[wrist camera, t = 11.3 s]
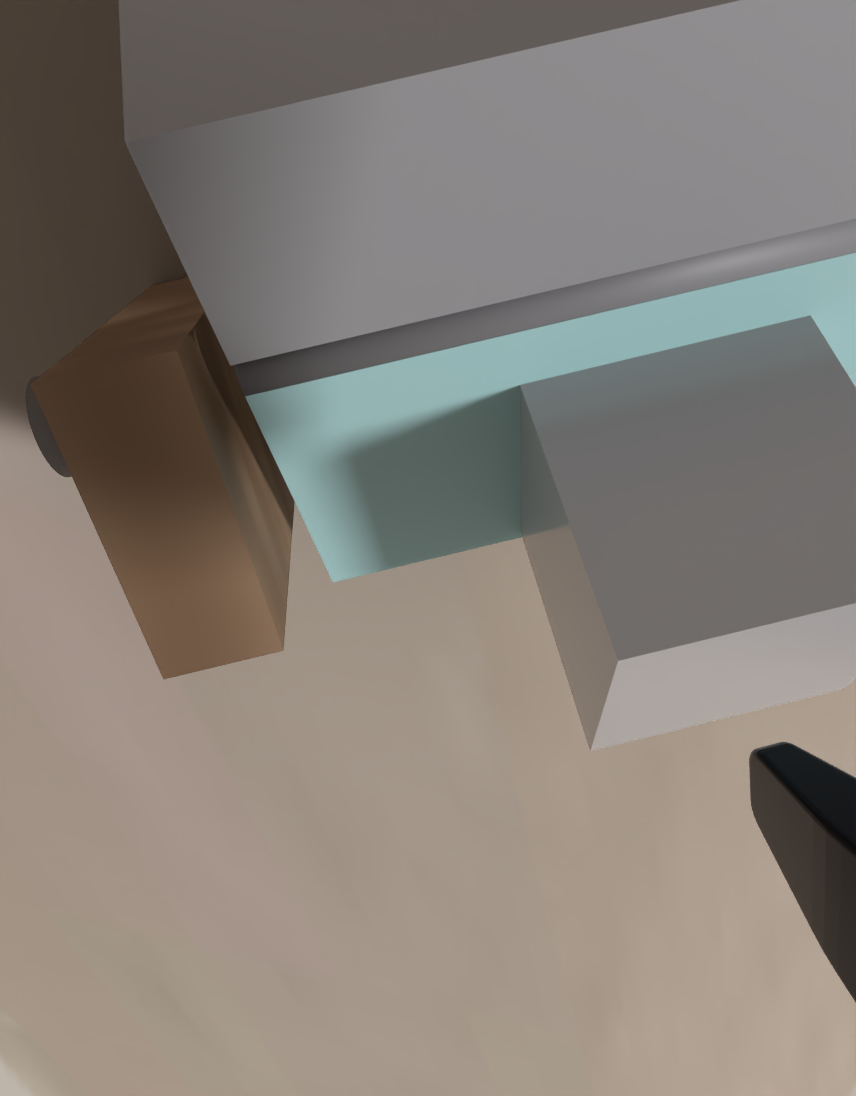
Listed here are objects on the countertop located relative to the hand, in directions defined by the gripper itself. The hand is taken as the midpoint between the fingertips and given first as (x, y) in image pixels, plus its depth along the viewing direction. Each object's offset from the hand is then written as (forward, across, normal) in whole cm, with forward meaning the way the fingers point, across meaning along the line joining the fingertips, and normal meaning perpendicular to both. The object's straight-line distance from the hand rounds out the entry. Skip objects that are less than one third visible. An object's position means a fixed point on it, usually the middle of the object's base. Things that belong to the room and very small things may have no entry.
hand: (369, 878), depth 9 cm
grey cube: (+8, -6, -1) cm, 10 cm away
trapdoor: (+9, -6, -5) cm, 12 cm away
